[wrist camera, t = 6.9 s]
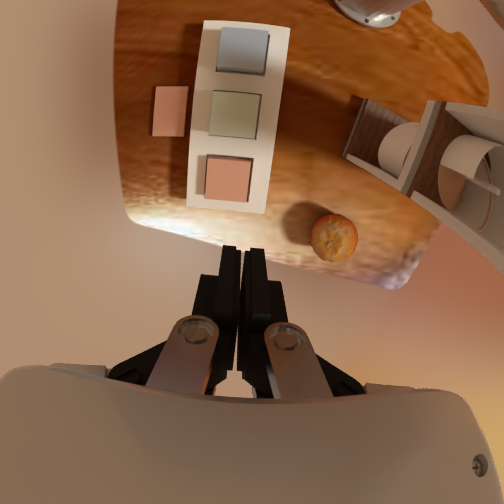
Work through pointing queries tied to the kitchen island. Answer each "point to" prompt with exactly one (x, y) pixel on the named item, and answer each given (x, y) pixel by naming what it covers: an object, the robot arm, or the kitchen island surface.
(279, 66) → the keypad board
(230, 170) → the key terracotta
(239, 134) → the key sage
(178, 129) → the tile
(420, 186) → the tiered shelf stand
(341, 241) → the fruit
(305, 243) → the kitchen island surface
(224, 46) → the key slate blue
